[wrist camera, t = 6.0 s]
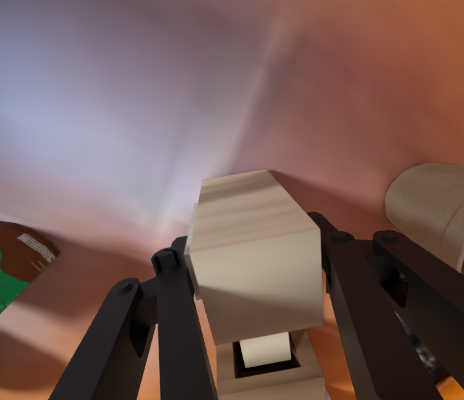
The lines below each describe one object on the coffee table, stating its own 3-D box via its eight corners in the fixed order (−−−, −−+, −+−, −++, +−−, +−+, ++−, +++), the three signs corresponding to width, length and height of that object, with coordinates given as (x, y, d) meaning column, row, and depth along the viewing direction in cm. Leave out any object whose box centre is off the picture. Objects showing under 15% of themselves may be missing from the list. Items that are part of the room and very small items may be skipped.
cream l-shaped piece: (202, 180, 18) (189, 252, 9) (265, 168, 18) (320, 228, 9) (235, 328, 24) (249, 468, 15) (284, 319, 24) (328, 453, 15)
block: (216, 327, 24) (217, 396, 18) (298, 312, 24) (324, 376, 18) (230, 383, 27) (234, 456, 22) (302, 370, 27) (326, 439, 22)
